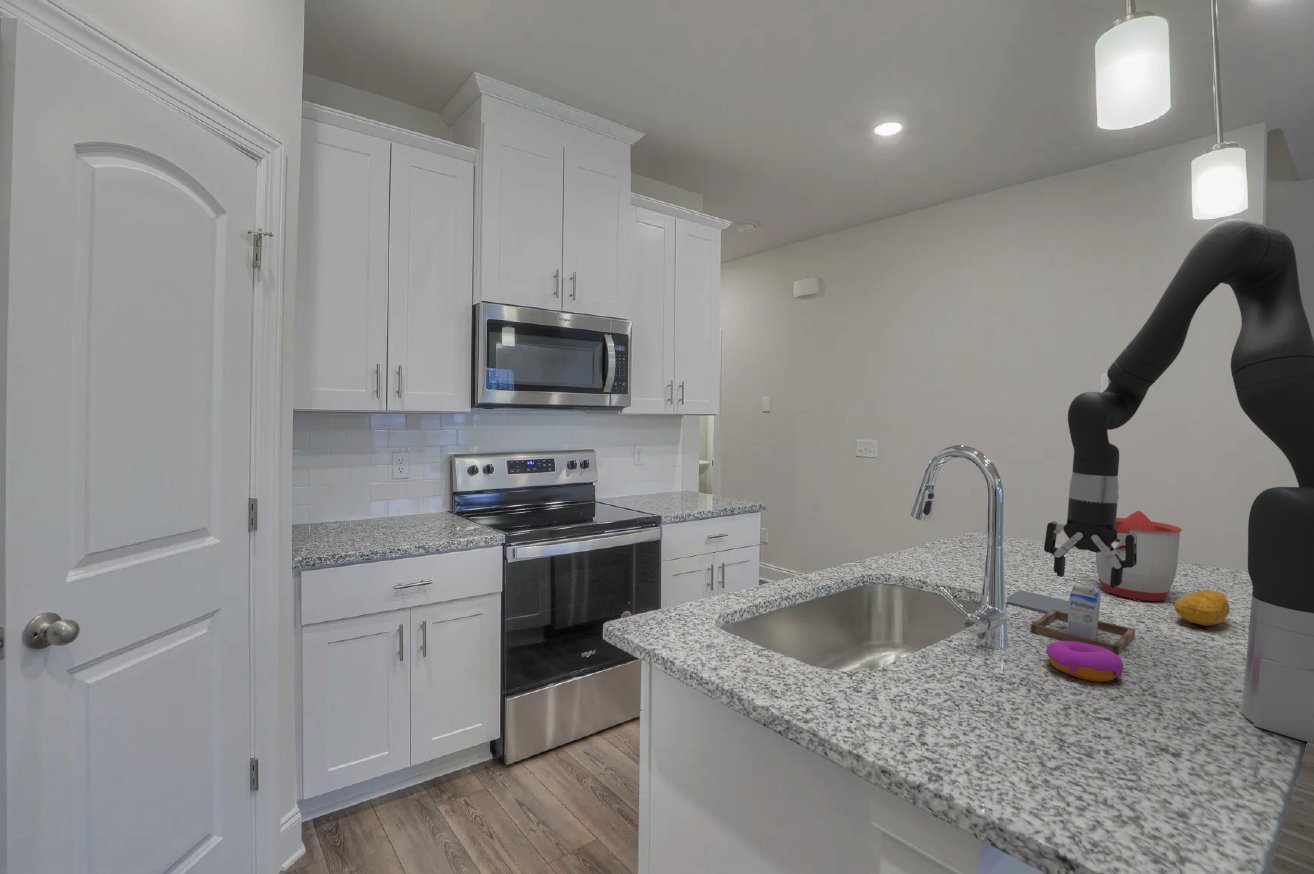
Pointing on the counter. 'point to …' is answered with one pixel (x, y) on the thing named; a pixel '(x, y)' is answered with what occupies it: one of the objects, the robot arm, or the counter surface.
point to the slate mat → (1037, 602)
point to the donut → (1085, 660)
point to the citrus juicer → (1143, 559)
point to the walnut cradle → (1064, 636)
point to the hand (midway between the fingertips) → (1086, 581)
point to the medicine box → (1083, 611)
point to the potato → (1203, 607)
